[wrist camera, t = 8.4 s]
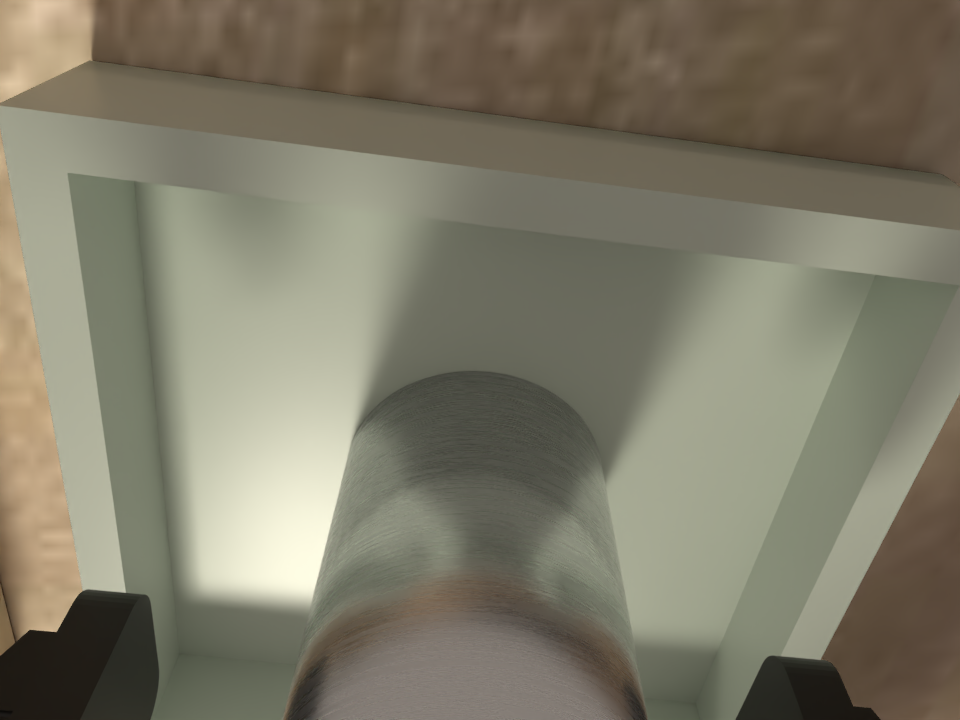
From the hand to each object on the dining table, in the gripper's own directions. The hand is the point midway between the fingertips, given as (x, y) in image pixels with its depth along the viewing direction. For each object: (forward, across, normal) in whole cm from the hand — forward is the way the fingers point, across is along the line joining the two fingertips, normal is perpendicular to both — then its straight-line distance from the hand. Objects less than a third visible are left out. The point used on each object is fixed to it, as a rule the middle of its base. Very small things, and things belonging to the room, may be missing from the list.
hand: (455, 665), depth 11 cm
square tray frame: (+5, 0, 0) cm, 5 cm away
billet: (+4, 0, 0) cm, 4 cm away
